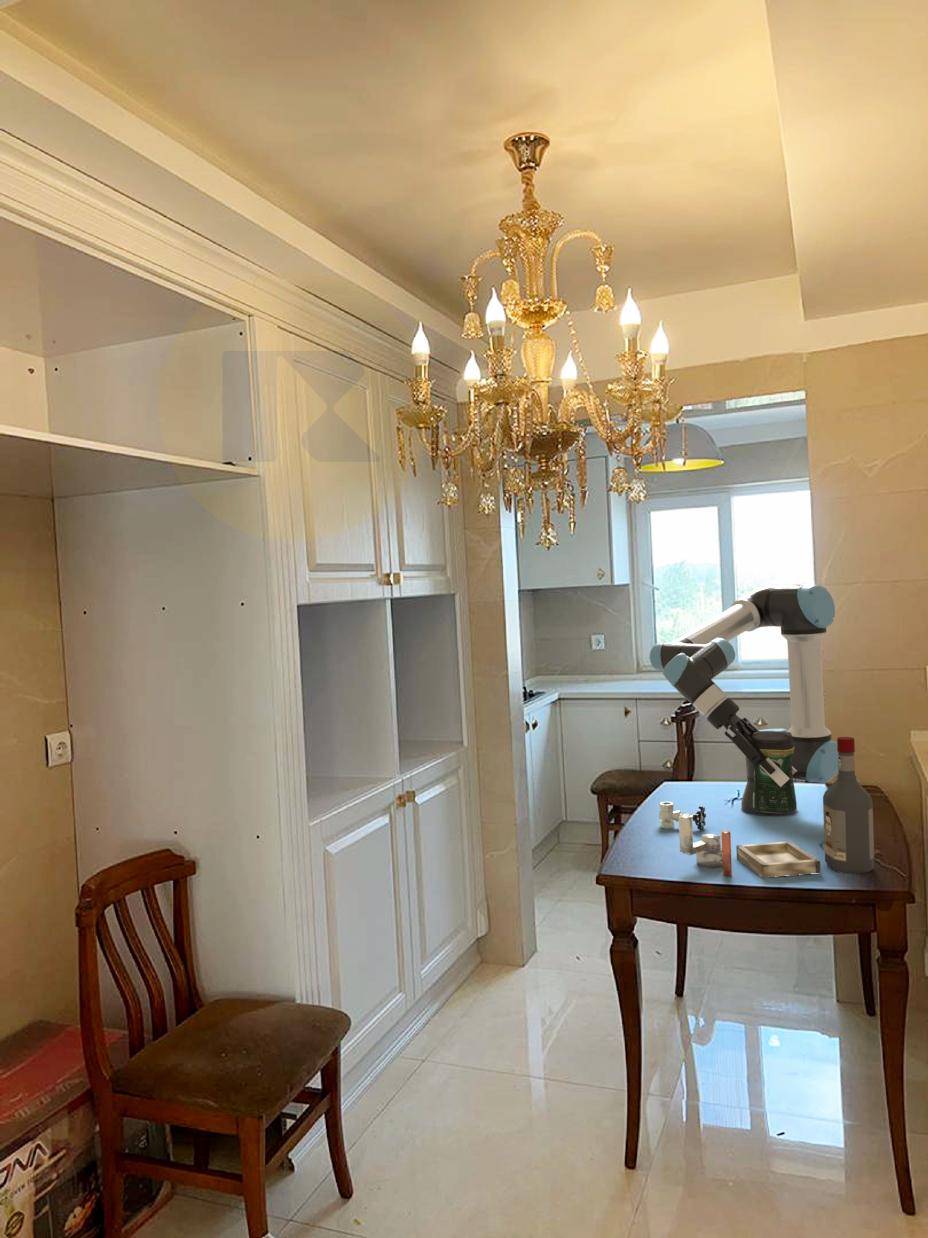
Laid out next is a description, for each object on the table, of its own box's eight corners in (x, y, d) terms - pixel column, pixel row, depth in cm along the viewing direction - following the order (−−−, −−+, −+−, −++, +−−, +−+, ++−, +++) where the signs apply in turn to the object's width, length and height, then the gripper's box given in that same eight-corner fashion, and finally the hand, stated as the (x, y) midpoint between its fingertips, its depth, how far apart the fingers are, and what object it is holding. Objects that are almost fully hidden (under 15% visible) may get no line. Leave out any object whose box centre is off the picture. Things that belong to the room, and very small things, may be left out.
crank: (709, 845, 218) (707, 806, 218) (724, 849, 215) (723, 809, 214) (675, 857, 211) (673, 816, 210) (690, 861, 207) (688, 820, 207)
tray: (789, 853, 220) (789, 841, 220) (820, 873, 205) (820, 860, 204) (736, 857, 219) (736, 845, 219) (763, 878, 203) (763, 865, 203)
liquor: (859, 860, 213) (856, 733, 211) (878, 872, 204) (874, 740, 202) (821, 862, 213) (817, 735, 211) (838, 874, 203) (834, 742, 202)
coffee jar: (798, 807, 212) (796, 729, 211) (794, 816, 205) (791, 735, 204) (755, 804, 217) (753, 727, 216) (750, 812, 210) (747, 733, 209)
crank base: (720, 858, 219) (718, 817, 219) (742, 876, 206) (741, 832, 205) (692, 860, 219) (690, 819, 218) (712, 878, 205) (711, 835, 205)
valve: (656, 829, 246) (700, 833, 240) (655, 805, 246) (699, 809, 240) (663, 823, 252) (706, 827, 246) (662, 800, 252) (705, 803, 246)
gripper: (717, 711, 227) (786, 779, 219) (693, 725, 209) (767, 799, 202) (738, 691, 224) (808, 759, 216) (716, 702, 206) (791, 777, 199)
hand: (788, 778), depth 209 cm, fingers closed on coffee jar, 8 cm apart
